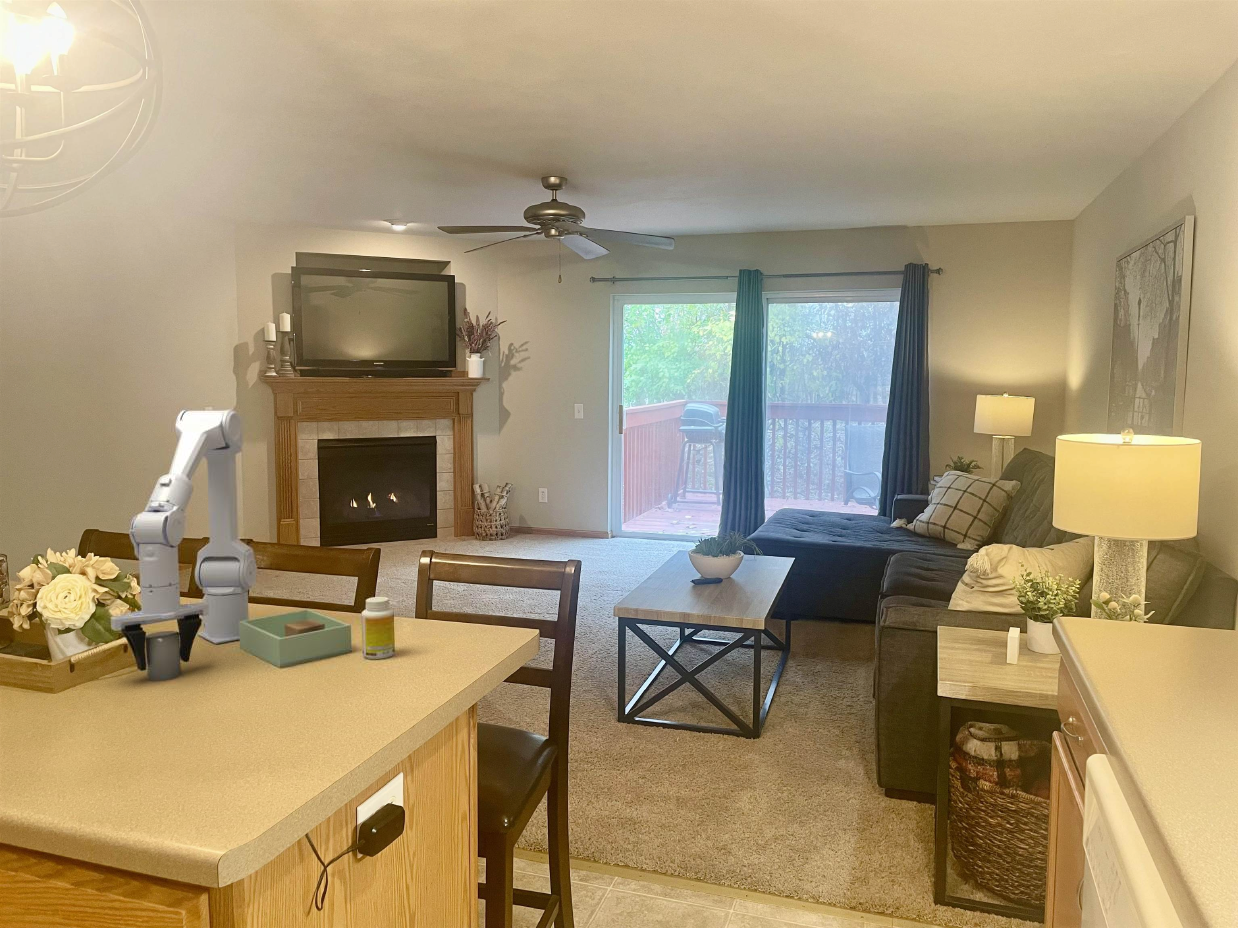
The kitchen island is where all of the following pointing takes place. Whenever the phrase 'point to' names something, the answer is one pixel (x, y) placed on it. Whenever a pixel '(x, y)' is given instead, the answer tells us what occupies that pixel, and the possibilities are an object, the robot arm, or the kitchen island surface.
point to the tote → (294, 638)
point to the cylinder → (163, 655)
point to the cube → (303, 627)
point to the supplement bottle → (378, 629)
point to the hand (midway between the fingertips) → (163, 664)
